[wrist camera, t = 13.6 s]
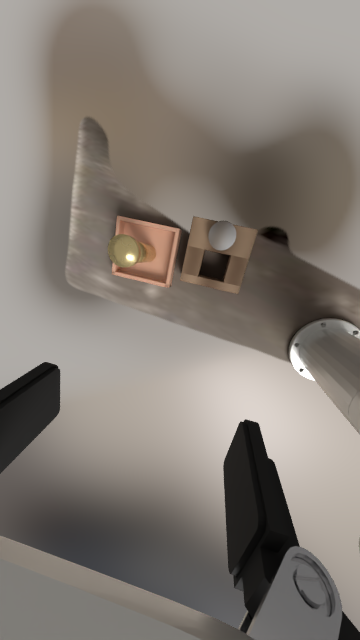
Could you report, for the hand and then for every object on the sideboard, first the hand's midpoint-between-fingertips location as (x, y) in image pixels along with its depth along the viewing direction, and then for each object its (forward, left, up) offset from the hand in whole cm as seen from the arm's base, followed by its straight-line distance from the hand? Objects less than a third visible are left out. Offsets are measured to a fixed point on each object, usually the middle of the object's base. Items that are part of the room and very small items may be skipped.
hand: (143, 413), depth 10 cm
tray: (+11, -6, -30) cm, 33 cm away
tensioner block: (-2, -8, -30) cm, 31 cm away
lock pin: (+10, -6, -30) cm, 32 cm away
